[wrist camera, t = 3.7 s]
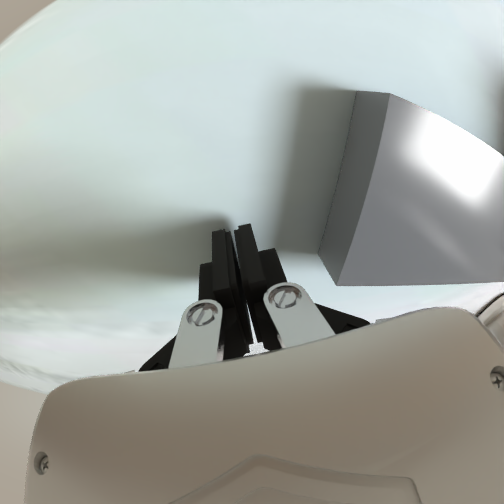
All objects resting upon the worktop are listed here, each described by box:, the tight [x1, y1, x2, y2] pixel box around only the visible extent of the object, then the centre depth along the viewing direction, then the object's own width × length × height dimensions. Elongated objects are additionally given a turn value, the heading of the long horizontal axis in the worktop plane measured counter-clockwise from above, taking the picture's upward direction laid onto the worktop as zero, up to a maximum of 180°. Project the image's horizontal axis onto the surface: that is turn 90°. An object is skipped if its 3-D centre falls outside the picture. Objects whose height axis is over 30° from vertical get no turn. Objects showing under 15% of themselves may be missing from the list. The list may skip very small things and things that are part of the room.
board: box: [318, 91, 504, 286], centre depth 12 cm, size 16×8×3 cm, turn 83°
